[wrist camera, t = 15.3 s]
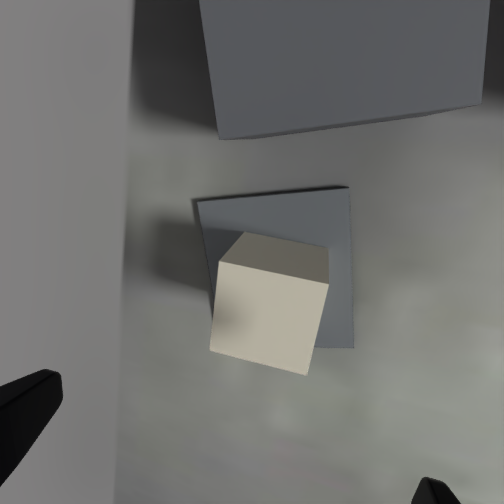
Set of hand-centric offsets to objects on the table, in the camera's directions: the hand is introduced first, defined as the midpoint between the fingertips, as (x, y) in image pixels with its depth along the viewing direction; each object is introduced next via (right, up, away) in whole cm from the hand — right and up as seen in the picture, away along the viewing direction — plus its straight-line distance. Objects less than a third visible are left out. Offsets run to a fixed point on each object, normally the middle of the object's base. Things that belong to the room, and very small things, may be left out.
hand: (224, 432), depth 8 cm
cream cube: (+2, +3, +8) cm, 9 cm away
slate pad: (+2, +3, +9) cm, 9 cm away
